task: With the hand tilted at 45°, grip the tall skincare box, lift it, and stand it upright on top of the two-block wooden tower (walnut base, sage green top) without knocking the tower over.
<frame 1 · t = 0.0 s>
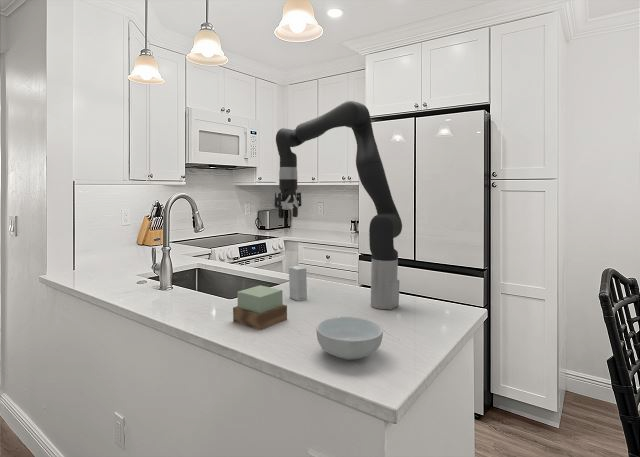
hand: (288, 217, 168), 29 cm above the table, tool pointing down, fingers open, 8 cm apart
cereal bowl: (349, 354, 104), on the table
tower top: (260, 306, 128), point 5 cm above the table
skincare box: (297, 299, 153), on the table
tower base: (260, 321, 129), on the table
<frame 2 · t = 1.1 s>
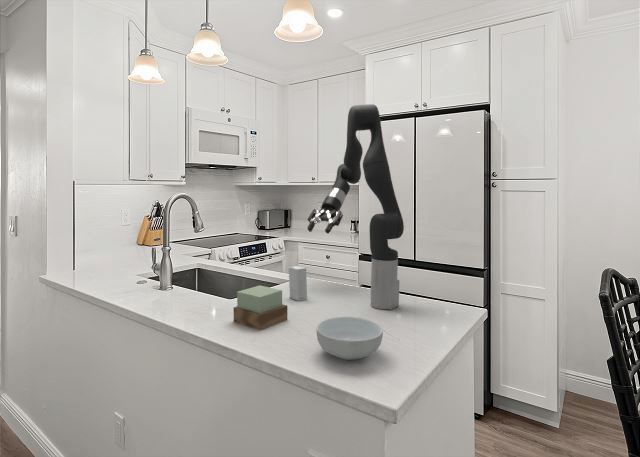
hand: (317, 231, 160), 25 cm above the table, tool tilted 45°, fingers open, 8 cm apart
nothing on the table moved.
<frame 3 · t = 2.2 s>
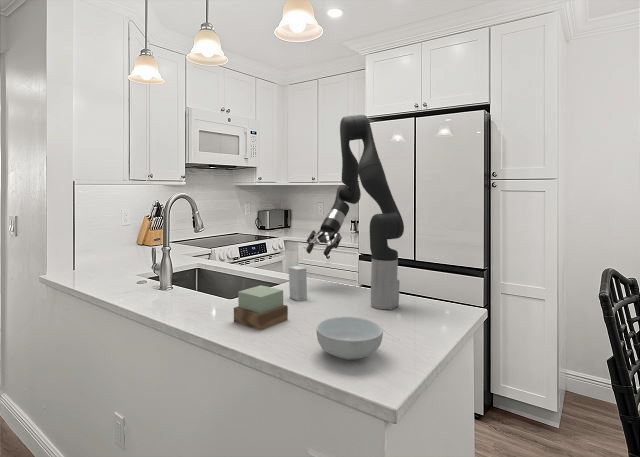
hand: (316, 253, 160), 16 cm above the table, tool tilted 45°, fingers open, 8 cm apart
tower top: (261, 306, 128), point 5 cm above the table, touching tower base
tower base: (261, 321, 128), on the table, touching tower top
everything else where it was.
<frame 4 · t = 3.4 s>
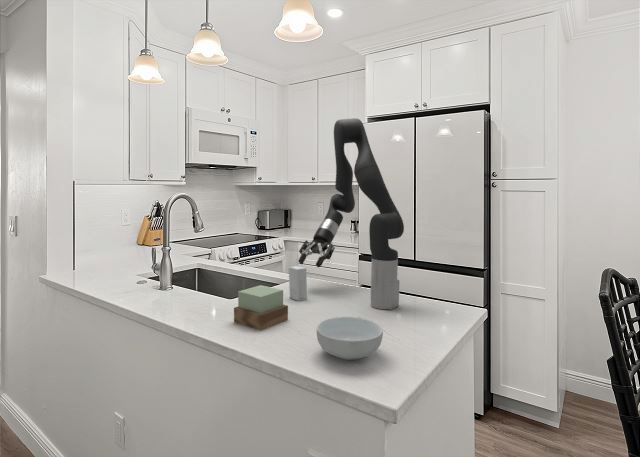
hand: (308, 264, 157), 12 cm above the table, tool tilted 45°, fingers open, 8 cm apart
nothing on the table moved.
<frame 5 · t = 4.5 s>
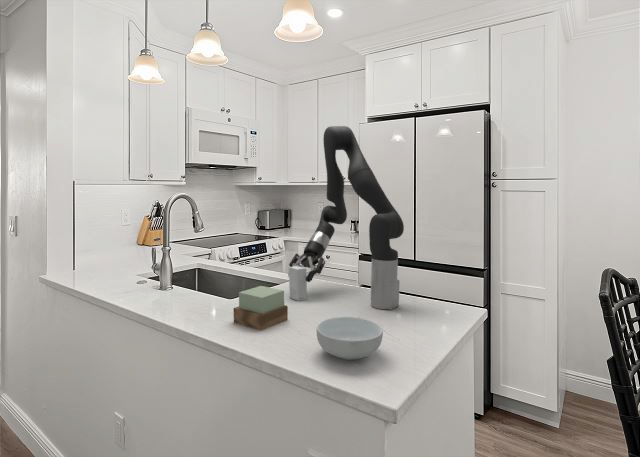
hand: (298, 279, 153), 7 cm above the table, tool tilted 45°, fingers open, 8 cm apart
nothing on the table moved.
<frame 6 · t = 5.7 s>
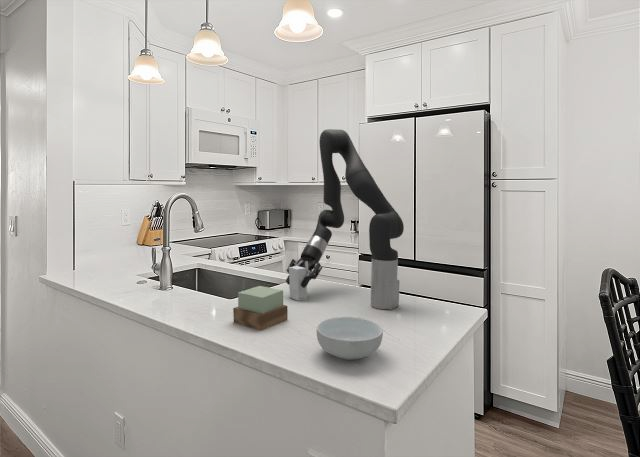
hand: (295, 284, 151), 6 cm above the table, tool tilted 45°, fingers closed on skincare box, 6 cm apart
skincare box: (297, 299, 153), on the table, touching gripper
everything else where it was.
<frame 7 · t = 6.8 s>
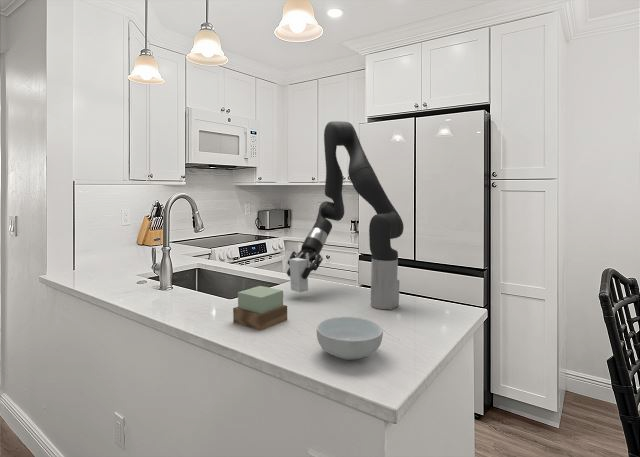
hand: (296, 276, 151), 9 cm above the table, tool tilted 45°, fingers closed on skincare box, 6 cm apart
skincare box: (299, 291, 153), point 3 cm above the table, touching gripper
everything else where it was.
when the fingers open (17 cm above the table, at t = 13.0 s): skincare box drops 2 cm, resting on tower top.
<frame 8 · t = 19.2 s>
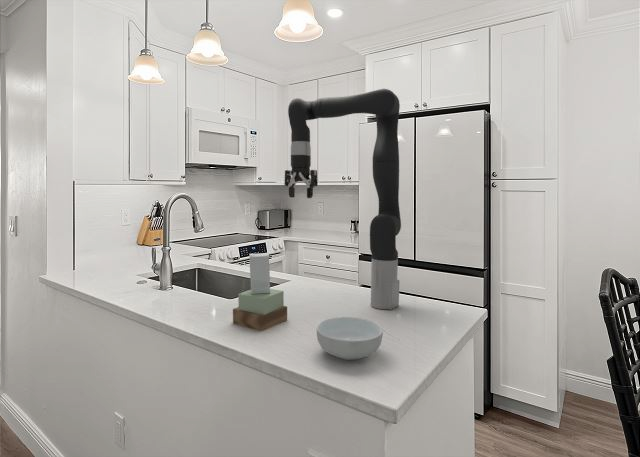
hand: (300, 197, 153), 38 cm above the table, tool pointing down, fingers open, 8 cm apart
tower top: (261, 307, 127), point 4 cm above the table, touching skincare box, tower base
skincare box: (260, 292, 126), point 9 cm above the table, touching tower top
everything else where it was.
at the end: skincare box 0.4 cm off-centre on the tower top, point 4.9 cm above the tower top's base; skincare box tilted 2°; tower top moved 1.3 cm from its start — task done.
